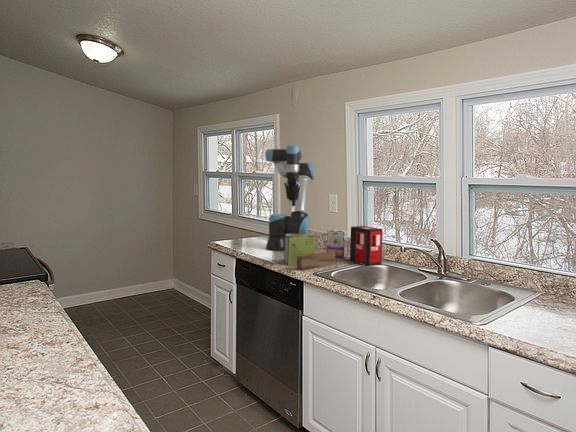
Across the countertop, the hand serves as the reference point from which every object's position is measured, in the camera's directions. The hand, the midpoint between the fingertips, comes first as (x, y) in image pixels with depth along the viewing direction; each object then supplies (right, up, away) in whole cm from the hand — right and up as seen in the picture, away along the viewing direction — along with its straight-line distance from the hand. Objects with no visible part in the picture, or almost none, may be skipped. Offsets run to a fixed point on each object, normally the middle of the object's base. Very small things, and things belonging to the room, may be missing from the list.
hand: (292, 211), depth 259 cm
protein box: (+4, -30, -17) cm, 34 cm away
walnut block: (+13, -30, -27) cm, 42 cm away
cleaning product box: (+41, -30, -13) cm, 53 cm away
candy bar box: (+27, -28, +3) cm, 39 cm away
